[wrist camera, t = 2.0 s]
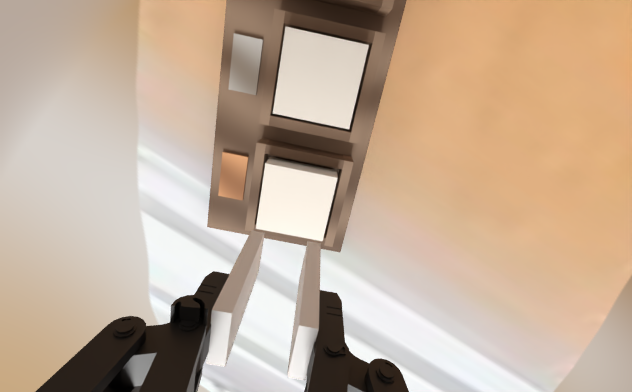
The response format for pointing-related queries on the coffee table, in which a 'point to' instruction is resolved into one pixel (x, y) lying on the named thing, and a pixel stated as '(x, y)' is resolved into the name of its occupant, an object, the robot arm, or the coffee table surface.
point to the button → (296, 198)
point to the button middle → (319, 77)
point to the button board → (286, 132)
